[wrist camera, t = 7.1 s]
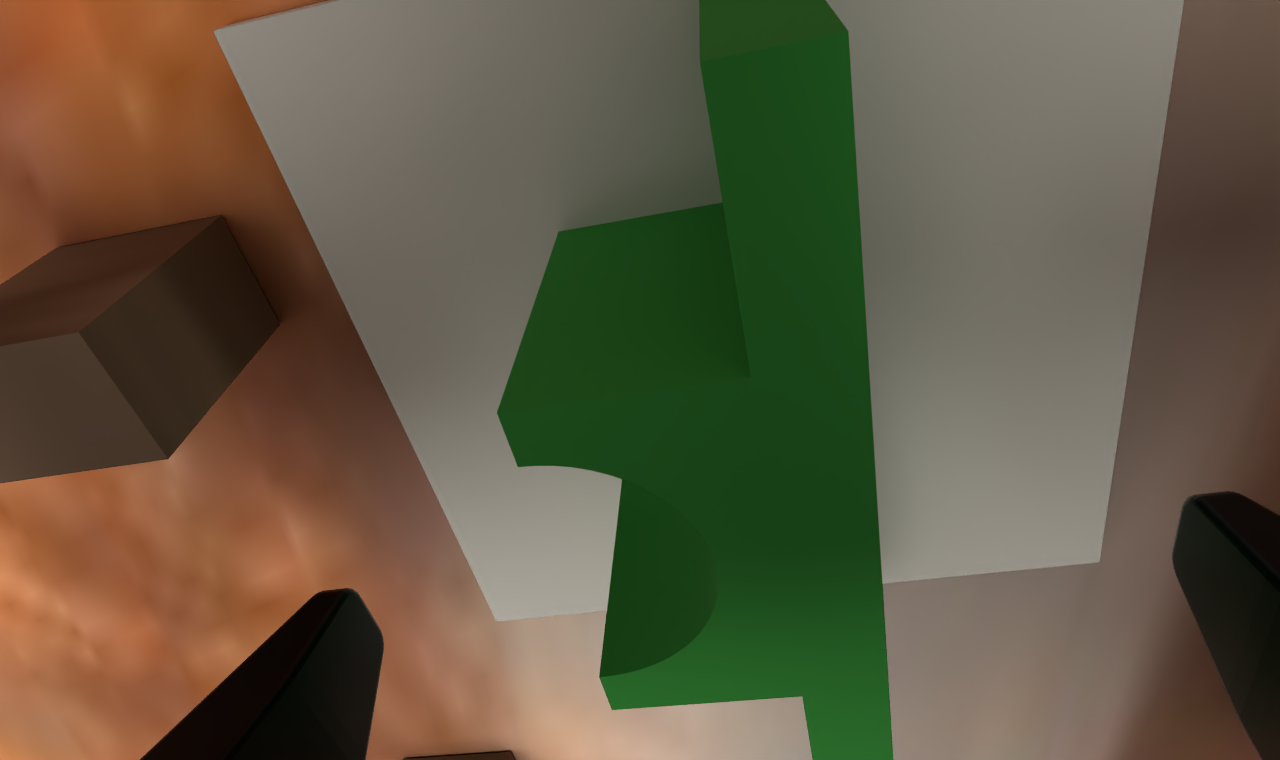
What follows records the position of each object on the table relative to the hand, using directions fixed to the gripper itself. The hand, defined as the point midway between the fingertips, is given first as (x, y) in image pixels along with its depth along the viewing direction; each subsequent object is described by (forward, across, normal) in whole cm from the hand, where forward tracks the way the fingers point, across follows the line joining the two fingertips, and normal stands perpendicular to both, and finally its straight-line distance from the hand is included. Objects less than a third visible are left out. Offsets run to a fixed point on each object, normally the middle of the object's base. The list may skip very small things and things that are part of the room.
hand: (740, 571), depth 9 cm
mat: (+5, 0, 0) cm, 5 cm away
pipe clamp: (+5, 0, 0) cm, 5 cm away
